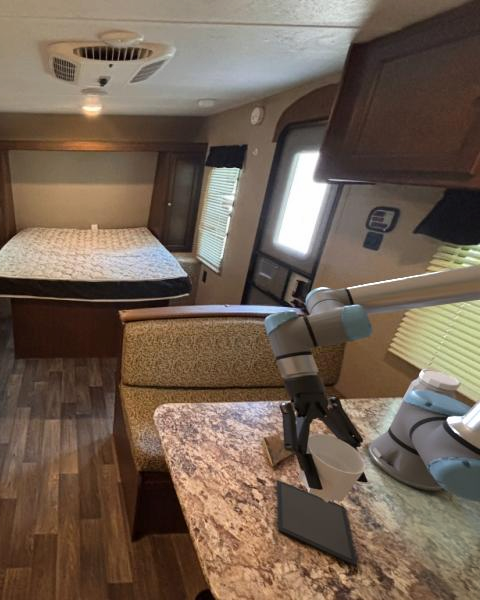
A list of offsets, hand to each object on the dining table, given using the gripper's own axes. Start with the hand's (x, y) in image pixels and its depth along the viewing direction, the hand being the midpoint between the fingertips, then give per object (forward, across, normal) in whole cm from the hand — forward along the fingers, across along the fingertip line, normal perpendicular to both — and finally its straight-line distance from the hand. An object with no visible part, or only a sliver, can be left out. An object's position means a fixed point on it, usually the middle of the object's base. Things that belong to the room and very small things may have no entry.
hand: (338, 484), depth 65 cm
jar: (-7, -61, -28) cm, 67 cm away
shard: (-3, -7, -24) cm, 26 cm away
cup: (+1, 0, -5) cm, 5 cm away
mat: (+9, -1, -12) cm, 15 cm away
